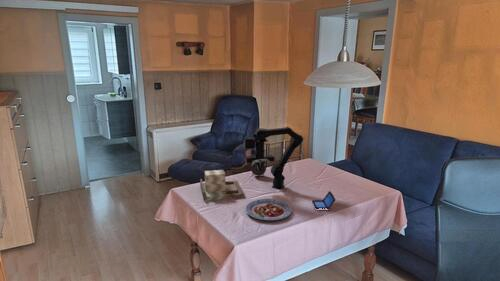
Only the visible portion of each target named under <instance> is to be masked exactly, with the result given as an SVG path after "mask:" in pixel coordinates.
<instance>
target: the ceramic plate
mask: <svg viewBox="0 0 500 281" xmlns="http://www.w3.org/2000/svg"><path fill="white" fill-rule="evenodd" d="M244 209H245V212H246V213H247V214H248V216H250V217H253V218H254V219H258V220H263V221H278V220H282V219H285V218H287V217H289V216H290V215H291V213H292V207H291V206H290V205H289V204H288V203H287V202H285V201H282V200H279V199H272V198H260V199H255V200H252V201H250V202H248V203H247V204H246V205H245V208H244Z"/></svg>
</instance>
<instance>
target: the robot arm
mask: <svg viewBox="0 0 500 281" xmlns="http://www.w3.org/2000/svg"><path fill="white" fill-rule="evenodd" d="M280 135H281V136H282V135H287V136H290V139H289V144H288V146H287V147H286V149H285V151H284V152H283V154H282V156H281V157H280V159H279V160H278V162H277V163H275V157H274V156H273V154H267V155H266V156H265V152H266V151H265V143H267V142H268V141H269V140H268V139H267V138H269V137H271V136H272V137H273V136H280ZM243 139H244V140H243V150H250V155H248V156H247V155H246V156H245V157H244V161H245V163H246V164H252V163H253V162H254V163H255V164H256V165H257V168H258V171H261V169H262V167H263V165H264V163H265V164H266V163H267V161H269V162H274V163H273V164H272V167H270V173H271V175H272V176H273V180H272V186H271V188H273V189H278V190H282V189H283V188H285V187H286V186H285V179H286V177H285V175H283V172H284V169H285V166H286V164H287V162H288V161H289V160H290V158H291V156H292V154H293V153H294V151H295V150H296V148H298V147H300V145H301V144H302V143H304V142H303V141H304V137H303V135H302V134H299V133H298V132H295V131H294V130H293V129H292V128H291V127H290V126H286V127H279V128H278V127H277V128H269V129H268V128H262V127H261V128H256V130H255V132H254V133H253V135H252V136H251V137H250V138H247V137H245V138H243ZM254 148H255V149H254ZM252 155H253V157H252ZM259 160H260V163H259Z"/></svg>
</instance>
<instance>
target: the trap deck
mask: <svg viewBox="0 0 500 281" xmlns="http://www.w3.org/2000/svg"><path fill="white" fill-rule="evenodd" d="M199 181H200V183H199V184H200V190H201V191H200V192H201V196H202V199H203V201H204V202H205V201H206V202H207V201H218V200H227V199H228V200H229V199H238V198H239V199H240V198H244V197H245V192H244V190H243V189H242V187H241V185H240V183H239V181H238V180H225V191H213V192H206V189H205V182H203V179H202V178H200V180H199Z"/></svg>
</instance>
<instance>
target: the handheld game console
mask: <svg viewBox="0 0 500 281" xmlns="http://www.w3.org/2000/svg"><path fill="white" fill-rule="evenodd" d="M335 202H336V198H335V196H334V195H333V193H332V191H330V190H329V191H328V192H327V194H326V195H325V196H324V198H323V199H316V200H315V199H313V200H312V201H311V203H312V205H313V204H314V205H313V207H314V206H315V207H314V209H315V208H316V209H319V208H322V209H323V208H324V209H325V208H327V209H329V210H330V209H331V207H332V206H333V205H334V204H335ZM316 209H315V210H316Z"/></svg>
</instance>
